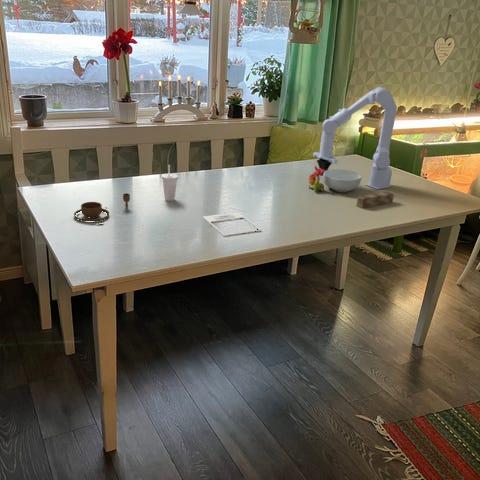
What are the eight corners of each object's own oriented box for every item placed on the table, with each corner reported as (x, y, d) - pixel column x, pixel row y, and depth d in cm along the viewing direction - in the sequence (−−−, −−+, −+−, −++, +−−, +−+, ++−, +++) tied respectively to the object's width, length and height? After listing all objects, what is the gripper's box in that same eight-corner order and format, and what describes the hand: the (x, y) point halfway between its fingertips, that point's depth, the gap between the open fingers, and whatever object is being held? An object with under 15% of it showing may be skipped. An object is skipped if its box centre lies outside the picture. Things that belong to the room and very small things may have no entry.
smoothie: (158, 199, 198) (158, 165, 193) (167, 195, 204) (168, 161, 198) (171, 203, 196) (172, 168, 190) (181, 199, 201) (181, 164, 195)
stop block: (386, 200, 216) (388, 191, 215) (392, 202, 214) (394, 193, 212) (356, 205, 207) (357, 196, 206) (361, 208, 205) (363, 198, 203)
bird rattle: (304, 193, 224) (317, 191, 217) (300, 168, 224) (313, 165, 216) (315, 192, 228) (328, 189, 220) (311, 167, 227) (325, 164, 219)
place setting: (74, 209, 185) (73, 194, 182) (130, 207, 190) (129, 192, 188) (74, 228, 169) (73, 211, 167) (135, 225, 175) (134, 209, 173)
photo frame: (238, 211, 190) (261, 229, 176) (238, 214, 191) (261, 232, 176) (202, 216, 184) (223, 234, 169) (202, 218, 184) (223, 237, 170)
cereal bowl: (329, 181, 237) (331, 166, 234) (364, 188, 230) (366, 173, 227) (315, 189, 224) (317, 174, 221) (351, 198, 216) (353, 182, 213)
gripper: (309, 143, 233) (306, 171, 238) (330, 150, 222) (326, 180, 227) (321, 142, 236) (317, 170, 242) (342, 149, 225) (338, 179, 231)
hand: (322, 175), depth 235 cm, fingers closed
